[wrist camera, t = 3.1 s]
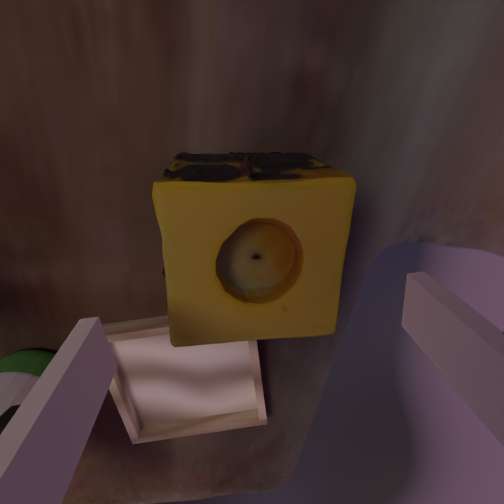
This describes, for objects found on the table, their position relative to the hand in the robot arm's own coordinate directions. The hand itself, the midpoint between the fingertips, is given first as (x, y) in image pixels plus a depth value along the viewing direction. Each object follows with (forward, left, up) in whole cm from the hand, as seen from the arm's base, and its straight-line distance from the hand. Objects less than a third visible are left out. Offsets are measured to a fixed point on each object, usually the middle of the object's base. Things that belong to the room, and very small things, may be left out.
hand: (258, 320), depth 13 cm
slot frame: (+16, -7, -14) cm, 22 cm away
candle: (0, 0, -14) cm, 14 cm away
